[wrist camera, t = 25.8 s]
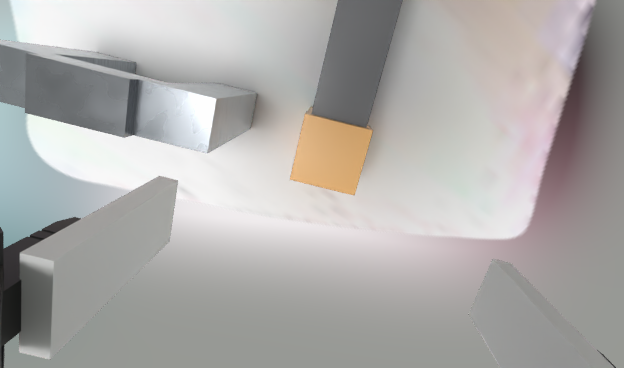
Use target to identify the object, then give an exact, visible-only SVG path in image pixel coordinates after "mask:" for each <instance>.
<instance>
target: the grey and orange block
mask: <svg viewBox="0 0 624 368" xmlns="http://www.w3.org/2000/svg"><path fill="white" fill-rule="evenodd" d="M401 4H402V0H338V4H337V8H336V12H335V16H334V20H333V25H332V29H331V33H330V37H329V42H328V46H327V50H326V54H325V59H324V63H323V67H322V71H321V75H320V80H319V84H318V88H317V92H316V97H315V101H314V105H313V107H310V108H309V109H308V111H307V112H306V113H305V116H304V120H303V125H302V129H301V133H300V138H299V142H298V146H297V151H296V155H295V159H294V164H293V168H292V172H291V176H290V180H294V181H298V182H302V183H306V184H310V185H314V186H318V187H322V188H326V189H330V190H334V191H338V192H342V193H346V194H351V195H355V192H356V188H357V185H358V181H359V178H360V174H361V171H362V167H363V164H364V161H365V157H366V154H367V150H368V147H369V143H370V140H371V136H372V133H373V130H372V129H371V128H370V127H369V126H368V120H369V117H370V113H371V110H372V106H373V103H374V99H375V96H376V92H377V89H378V85H379V82H380V78H381V74H382V71H383V67H384V64H385V60H386V57H387V53H388V50H389V46H390V43H391V39H392V36H393V32H394V29H395V25H396V22H397V18H398V14H399V11H400V7H401Z"/></svg>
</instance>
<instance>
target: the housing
mask: <svg viewBox="0 0 624 368" xmlns="http://www.w3.org/2000/svg"><path fill="white" fill-rule="evenodd" d="M135 69H136V62H133V61H129V60H125V59H121V58H117V57H113V56H109V55H105V54H101V53H97V52H91V51H84V50H76V49H68V48H61V47H53V46H45V45H38V44H30V43H22V42H15V41H7V40H0V102H3V103H7V104H11V105H15V106H19V107H23V108H25V113H28V114H32V115H36V116H40V117H44V118H48V119H52V120H56V121H60V122H64V123H68V124H72V125H76V126H80V127H84V128H88V129H92V130H96V131H100V132H104V133H108V134H112V135H116V136H120V137H128V136H132V135H135V136H139V137H143V138H147V139H151V140H155V141H159V142H163V143H167V144H171V145H175V146H179V147H183V148H187V149H191V150H195V151H199V152H203V153H209V152H211V151H212V150H214V149H216V148H218V147H219V146H221V145H223V144H225V143H226V142H228V141H230V140H232V139H233V138H235V137H237V136H239V135H240V134H242V133H244V132H245V131H247V130H249V129H250V128H251V123H252V118H253V112H254V107H255V102H256V97H257V93H255V92H251V91H247V90H243V89H239V88H235V87H232V86H228V85H224V84H220V83H167V82H163V81H159V80H155V79H151V78H147V77H144V76H140V75H136V74H135Z"/></svg>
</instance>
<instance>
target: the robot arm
mask: <svg viewBox="0 0 624 368" xmlns="http://www.w3.org/2000/svg"><path fill="white" fill-rule="evenodd" d="M177 185H178V180H174V179H169V178H165V177H161V176H158V177H157V178H155V179H153V180H151V181H149V182H148V183H146V184H144V185H142V186H140V187H138V188H137V189H135V190H133V191H131V192H129V193H128V194H126V195H124V196H122V197H120V198H118V199H117V200H115V201H113V202H111V203H109V204H108V205H106V206H104V207H102V208H100V209H98V210H97V211H95V212H93V213H91V214H89V215H88V216H86V217H84V218H82V219H81V218H76V217H74V218H69V219H66V220H61V221H57V222H55V223H53V224H51V225H49V226H47V227H45V228H43V229H42V231H37V232H35V233H33V234H31V235H30V237H26V238H24V239H22V240H20V241H18V242H16V243H14V244H12V245H10V246H8V247H6V248H4V249H3V231H2V229H1V228H0V368H4V344H6V343H7V342H8V341H9V340H11V339H12V338H13V337H14V336H16V335H17V334H18V333H19V352H20V353H25V354H29V355H33V356H38V357H41V358H46V359H51V358H52V357H53V356H54V355H55V354H56V353H57V352H58V351H59V350H60V349H61V348H62V347H63V346H64V345H65V344H66V343H67V342H68V341H69V340H70V339H71V338H72V337H73V336H74V335H76V333H78V331H80V330H81V329H82V328H83V327H84V326H85V325H86V324H87V323H88V322H89V321H90V320H91V319H92V318H93V317H94V316H95V315H96V314H97V313H98V312H99V311H100V310H101V309H102V308H103V307H104V306H105V305H106V304H107V303H108V302H109V301H110V300H111V299H112V298H113V297H114V296H115V295H116V294H117V293H118V292H119V291H120V290H121V289H122V288H123V287H124V286H125V285H126V284H127V283H128V282H129V281H130V280H131V279H132V278H133V277H134V276H135V275H136V274H137V273H138V272H139V271H140V270H141V269H142V268H143V267H144V266H145V265H146V264H147V263H148V262H149V261H150V260H151V259H152V258H153V257H154V256H155V255H156V254H157V253H158V252H159V251H160V250H161V249H162V248H163V247H164V246H165V245H166V244H167V243H168V242H169V241H170V235H171V227H172V219H173V213H174V206H175V199H176V192H177ZM468 315H469V316H470V318H471V320H472V322H473V323H474V325H475V327H476V328H477V330H478V331H479V333H480V335H481V337H482V339H483V340H484V342H485V344H486V345H487V347H488V349H489V350H490V352H491V354H492V356H493V357H494V359H495V360H496V362H497V364H498V366H499V367H500V368H616V367H615V366H614V365H613V364H612V363H611V362H610V361H609V360H608V359H607V358H606V357H605V356H604V355H603V354H602V353H600V352H599V351H598V350H596V349H595V348H594V347H593V346H592V345H591V344H590V343H589V342H588V341H587V340H586V339H585V338H584V337H583V335H582V334H580V332H579V331H578V330H577V329H575V327H574V326H573V325H572V324H571V323H570V322H569V321H567V319H565V317H564V316H562V314H560V312H559V311H558V310H557V309H556V308H555V307H554V306H553V305H552V304H551V303H550V302H549V301H548V300H547V299H546V298H545V297H544V296H543V295H542V294H541V293H540V292H539V291H538V290H537V289H536V288H535V287H534V286H533V285H532V284H531V283H530V282H529V281H528V280H527V279H526V278H525V277H524V276H523V275H522V274H521V273H520V272H519V271H518V270H517V269H516V268H515V267H514V266H513V265H512V264H511V263H508V262H504V261H500V260H496V259H493V260H492V262H491V264H490V266H489V269H488V271H487V273H486V276H485V278H484V280H483V282H482V285H481V287H480V289H479V292H478V294H477V296H476V298H475V301H474V303H473V305H472V307H471V310H470V312H469V314H468Z"/></svg>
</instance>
